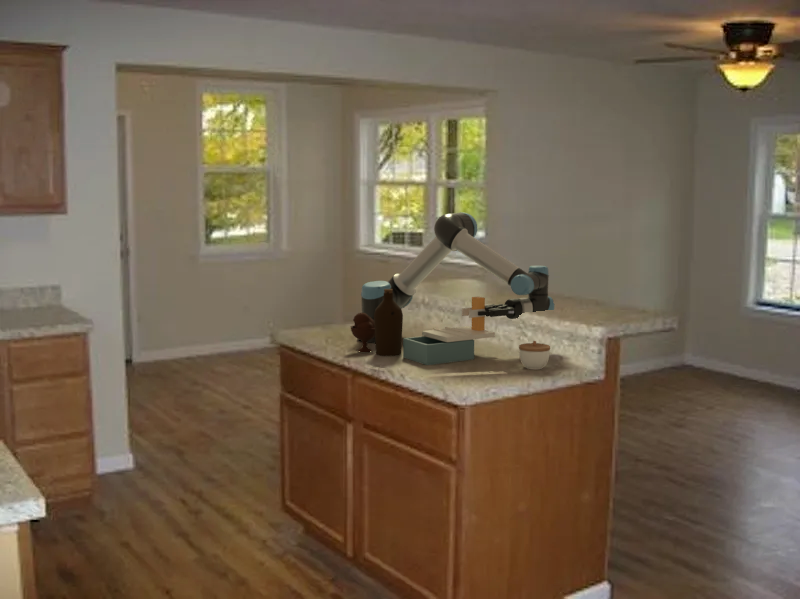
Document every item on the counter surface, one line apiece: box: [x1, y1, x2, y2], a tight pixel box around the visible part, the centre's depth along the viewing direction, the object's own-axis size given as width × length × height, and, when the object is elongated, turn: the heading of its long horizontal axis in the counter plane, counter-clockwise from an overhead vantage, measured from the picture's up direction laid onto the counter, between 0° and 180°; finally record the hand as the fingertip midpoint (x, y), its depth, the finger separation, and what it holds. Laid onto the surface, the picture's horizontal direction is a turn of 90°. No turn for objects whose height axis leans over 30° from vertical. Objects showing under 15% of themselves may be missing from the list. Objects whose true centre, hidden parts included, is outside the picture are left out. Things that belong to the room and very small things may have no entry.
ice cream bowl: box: [350, 312, 375, 353], centre depth 341 cm, size 11×11×15 cm
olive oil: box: [374, 289, 404, 357], centre depth 330 cm, size 11×11×25 cm
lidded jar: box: [518, 340, 551, 371], centre depth 310 cm, size 11×11×9 cm
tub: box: [402, 335, 475, 366], centre depth 323 cm, size 16×20×8 cm
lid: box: [421, 296, 496, 342], centre depth 325 cm, size 17×21×14 cm
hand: (466, 313), depth 327 cm, fingers closed on lid, 4 cm apart
